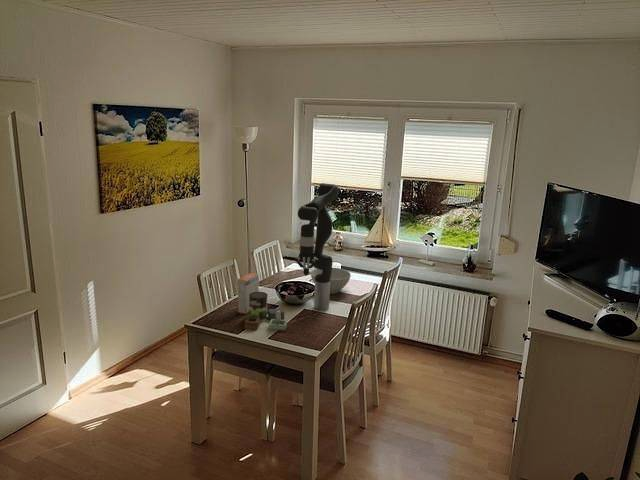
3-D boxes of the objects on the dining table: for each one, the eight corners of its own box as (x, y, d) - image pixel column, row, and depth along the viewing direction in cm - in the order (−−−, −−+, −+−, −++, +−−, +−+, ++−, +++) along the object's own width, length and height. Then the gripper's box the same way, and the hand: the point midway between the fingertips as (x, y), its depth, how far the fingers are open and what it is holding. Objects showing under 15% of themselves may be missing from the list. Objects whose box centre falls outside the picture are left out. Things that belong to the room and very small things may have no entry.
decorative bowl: (350, 298, 299) (351, 280, 296) (309, 296, 299) (309, 279, 296) (349, 284, 325) (349, 268, 322) (310, 282, 325) (311, 266, 322)
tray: (270, 324, 257) (271, 319, 256) (287, 325, 257) (287, 320, 256) (268, 329, 250) (268, 324, 250) (285, 330, 250) (285, 325, 249)
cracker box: (250, 304, 283) (250, 272, 278) (259, 306, 281) (259, 273, 276) (237, 312, 271) (237, 278, 266) (246, 314, 268) (245, 280, 263)
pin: (275, 325, 254) (275, 310, 252) (280, 325, 255) (280, 310, 252) (275, 327, 252) (275, 312, 249) (280, 327, 252) (280, 312, 250)
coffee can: (262, 322, 258) (262, 299, 255) (246, 319, 262) (245, 296, 258) (270, 316, 268) (270, 293, 264) (254, 313, 271) (254, 290, 268)
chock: (267, 316, 267) (267, 309, 266) (281, 315, 270) (281, 308, 269) (270, 320, 262) (270, 313, 261) (284, 319, 265) (284, 312, 264)
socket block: (247, 323, 257) (247, 316, 256) (259, 324, 256) (259, 317, 255) (244, 329, 250) (244, 322, 249) (257, 329, 250) (257, 322, 249)
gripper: (319, 242, 250) (318, 273, 255) (295, 241, 251) (294, 272, 255) (319, 246, 243) (317, 277, 247) (293, 245, 244) (293, 276, 248)
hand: (306, 274), depth 251 cm, fingers closed
